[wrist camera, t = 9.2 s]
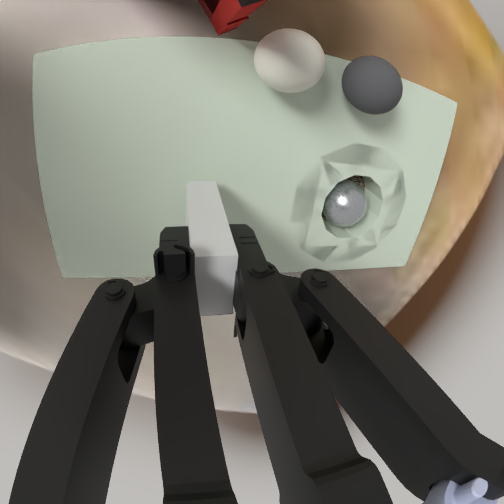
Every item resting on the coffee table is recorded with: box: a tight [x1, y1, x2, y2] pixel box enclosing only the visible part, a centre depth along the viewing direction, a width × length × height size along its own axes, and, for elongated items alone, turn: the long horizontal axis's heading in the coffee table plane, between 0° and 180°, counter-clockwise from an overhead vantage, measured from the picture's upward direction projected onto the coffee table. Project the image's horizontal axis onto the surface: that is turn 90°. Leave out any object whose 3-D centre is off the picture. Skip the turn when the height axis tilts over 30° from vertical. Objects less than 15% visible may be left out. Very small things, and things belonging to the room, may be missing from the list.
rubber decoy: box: [342, 56, 403, 115], centre depth 12 cm, size 3×3×3 cm
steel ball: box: [322, 179, 367, 227], centre depth 19 cm, size 3×3×3 cm
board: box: [32, 36, 458, 278], centre depth 17 cm, size 26×14×2 cm, turn 84°
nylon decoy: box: [254, 28, 325, 93], centre depth 11 cm, size 3×3×3 cm
